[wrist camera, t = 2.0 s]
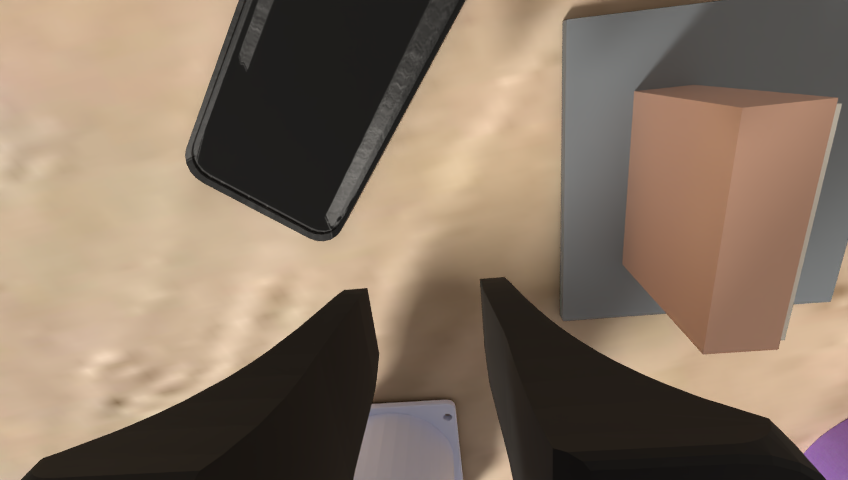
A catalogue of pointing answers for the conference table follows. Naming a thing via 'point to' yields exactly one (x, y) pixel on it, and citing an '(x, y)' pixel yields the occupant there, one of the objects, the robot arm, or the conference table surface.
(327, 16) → the phone
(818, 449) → the masking tape
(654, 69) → the mat
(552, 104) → the conference table surface
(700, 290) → the light brown rectangular block
